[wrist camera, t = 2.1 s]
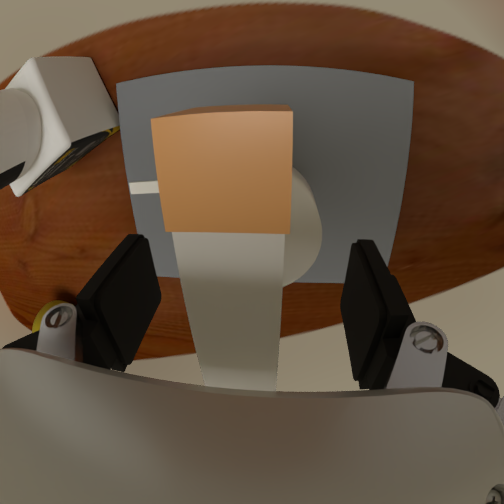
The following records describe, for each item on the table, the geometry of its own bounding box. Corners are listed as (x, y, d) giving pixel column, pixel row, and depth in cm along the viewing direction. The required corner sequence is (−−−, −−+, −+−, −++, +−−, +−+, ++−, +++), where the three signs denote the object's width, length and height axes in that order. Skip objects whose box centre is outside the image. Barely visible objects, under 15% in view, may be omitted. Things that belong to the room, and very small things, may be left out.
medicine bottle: (69, 168, 21) (-31, 233, 11) (39, 105, 18) (-68, 143, 8) (126, 125, 19) (8, 174, 9) (91, 55, 16) (-32, 62, 6)
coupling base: (405, 81, 16) (447, 82, 10) (378, 273, 24) (398, 320, 19) (126, 83, 17) (78, 86, 12) (153, 266, 26) (127, 309, 20)
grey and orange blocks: (194, 103, 13) (81, 131, 5) (320, 101, 12) (385, 119, 4) (212, 291, 18) (174, 417, 11) (307, 294, 18) (315, 428, 10)
